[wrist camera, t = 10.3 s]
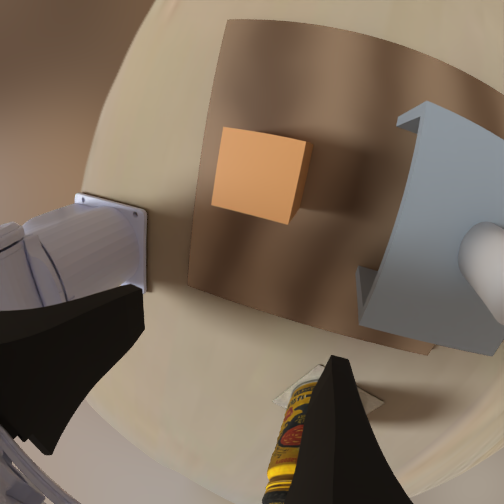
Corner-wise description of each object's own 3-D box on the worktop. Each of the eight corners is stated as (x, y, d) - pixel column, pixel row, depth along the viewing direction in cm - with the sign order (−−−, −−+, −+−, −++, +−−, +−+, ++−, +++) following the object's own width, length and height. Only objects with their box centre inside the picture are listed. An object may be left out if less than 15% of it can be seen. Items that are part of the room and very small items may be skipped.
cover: (355, 273, 17) (359, 379, 8) (398, 116, 12) (462, 81, 4) (464, 306, 15) (511, 400, 7) (512, 171, 11) (605, 201, 3)
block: (238, 192, 17) (211, 205, 14) (248, 131, 16) (223, 126, 12) (299, 208, 17) (288, 224, 13) (313, 144, 15) (306, 141, 11)
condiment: (318, 362, 21) (287, 493, 11) (385, 401, 21) (381, 514, 10) (272, 399, 25) (231, 502, 14) (334, 431, 24) (314, 527, 13)
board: (191, 280, 22) (187, 285, 21) (231, 23, 14) (227, 19, 13) (425, 349, 18) (427, 355, 17) (508, 102, 10) (513, 101, 9)
